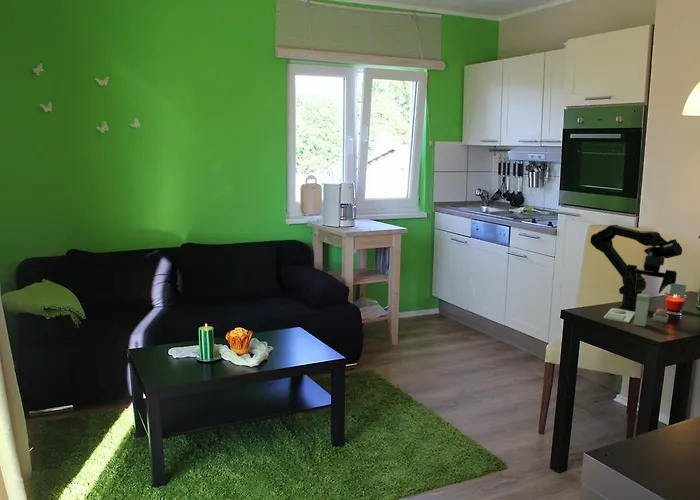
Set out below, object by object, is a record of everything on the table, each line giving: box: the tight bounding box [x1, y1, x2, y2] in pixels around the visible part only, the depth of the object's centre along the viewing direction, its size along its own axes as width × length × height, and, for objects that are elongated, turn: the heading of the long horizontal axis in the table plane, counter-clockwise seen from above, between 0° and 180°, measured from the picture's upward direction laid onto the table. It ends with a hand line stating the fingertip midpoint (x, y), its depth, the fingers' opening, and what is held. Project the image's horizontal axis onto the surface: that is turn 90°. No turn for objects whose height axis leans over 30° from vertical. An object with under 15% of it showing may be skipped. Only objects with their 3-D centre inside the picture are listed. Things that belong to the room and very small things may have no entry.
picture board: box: [602, 307, 635, 324], centre depth 257 cm, size 18×10×1 cm, turn 147°
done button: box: [655, 308, 667, 316], centre depth 253 cm, size 4×4×2 cm
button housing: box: [652, 312, 669, 324], centre depth 253 cm, size 5×5×2 cm
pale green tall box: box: [633, 293, 651, 327], centre depth 245 cm, size 4×4×12 cm
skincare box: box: [667, 281, 687, 298], centre depth 269 cm, size 6×4×12 cm
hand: (646, 290), depth 250 cm, fingers open, 9 cm apart
